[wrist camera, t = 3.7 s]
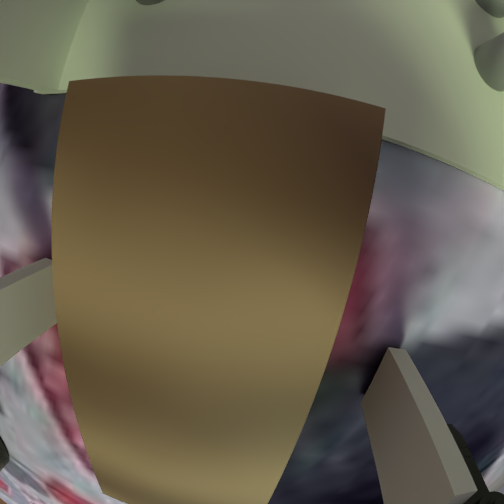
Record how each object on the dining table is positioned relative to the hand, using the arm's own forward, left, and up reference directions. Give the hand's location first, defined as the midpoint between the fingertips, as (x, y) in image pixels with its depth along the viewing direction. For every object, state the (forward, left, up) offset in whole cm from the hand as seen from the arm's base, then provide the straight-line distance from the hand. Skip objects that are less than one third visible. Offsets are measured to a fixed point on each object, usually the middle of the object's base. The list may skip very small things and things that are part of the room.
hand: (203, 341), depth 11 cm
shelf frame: (+2, +14, 0) cm, 14 cm away
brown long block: (0, 0, -1) cm, 1 cm away
